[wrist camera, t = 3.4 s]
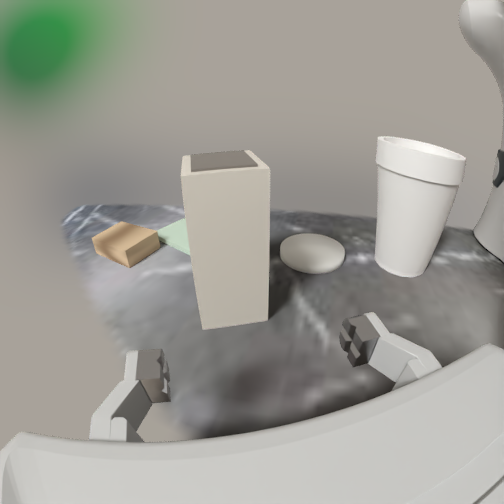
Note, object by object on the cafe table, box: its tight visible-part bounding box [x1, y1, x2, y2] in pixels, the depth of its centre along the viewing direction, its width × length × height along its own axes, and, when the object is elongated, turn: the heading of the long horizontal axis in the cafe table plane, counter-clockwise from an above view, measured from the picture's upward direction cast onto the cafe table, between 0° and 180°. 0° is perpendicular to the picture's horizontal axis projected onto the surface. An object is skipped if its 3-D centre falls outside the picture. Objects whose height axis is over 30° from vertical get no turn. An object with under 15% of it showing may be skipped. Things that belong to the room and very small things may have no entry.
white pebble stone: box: [280, 233, 345, 274], centre depth 31 cm, size 7×7×1 cm
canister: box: [181, 151, 270, 330], centre depth 22 cm, size 6×5×12 cm
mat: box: [157, 218, 190, 255], centre depth 36 cm, size 10×10×1 cm
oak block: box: [92, 221, 160, 268], centre depth 32 cm, size 7×5×2 cm
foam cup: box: [375, 136, 466, 277], centre depth 26 cm, size 10×9×13 cm
